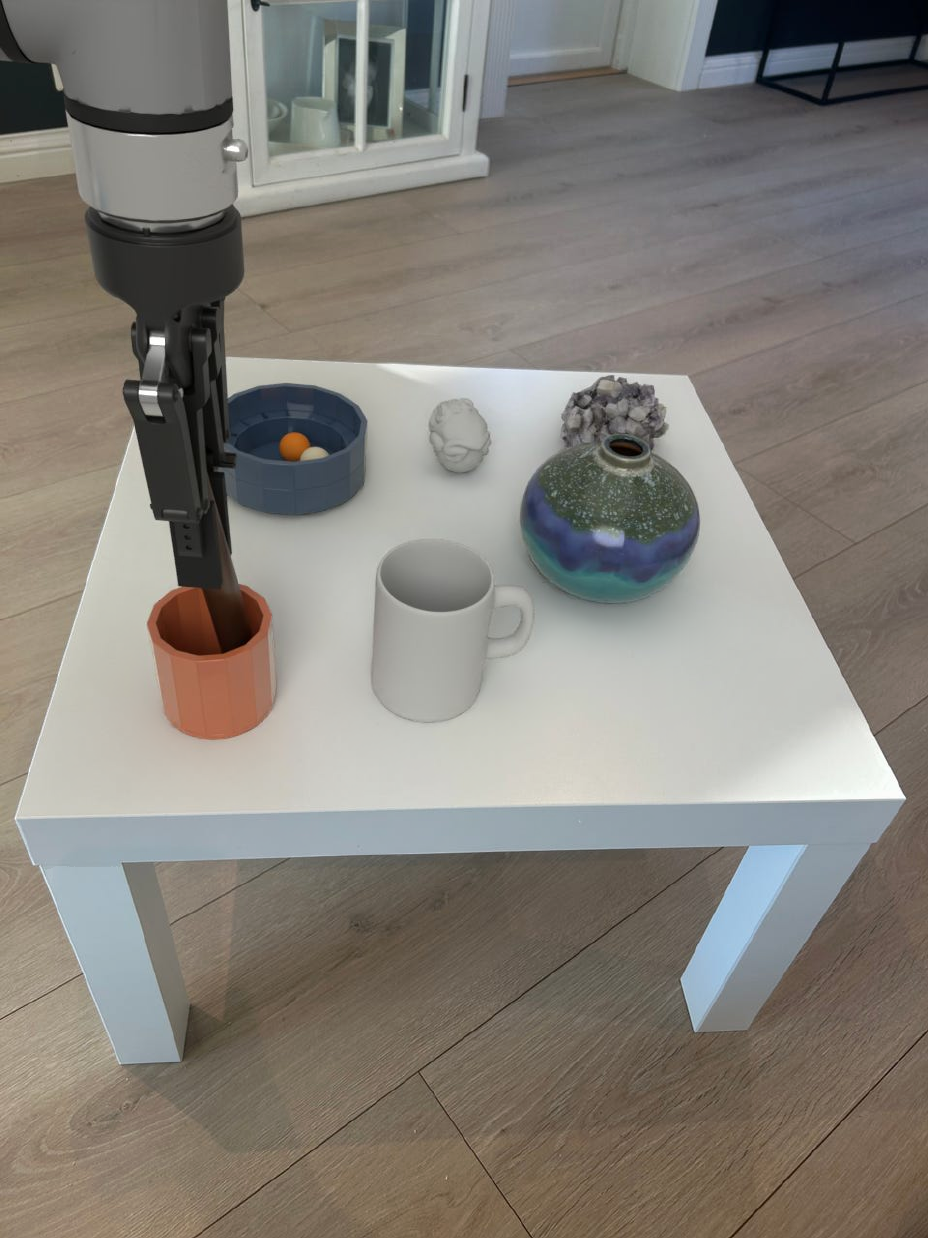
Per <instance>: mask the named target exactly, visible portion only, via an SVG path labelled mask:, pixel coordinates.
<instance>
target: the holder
mask: <svg viewBox="0 0 928 1238" xmlns="http://www.w3.org/2000/svg"><path fill="white" fill-rule="evenodd" d="M238 584H239V587H240V591H241V594H242V598H243V601H244V605H245V609H246V612H247V616H248V619H249V623H250V626H251V630H252V633H253V638H252V639H251V640H250V641H249V642H248V643H247V644H246V645H244V646H241V647H239V648H236V649H234V650H231V651H229V652H226V653H224V654H222V652H221V648H220V645H219V642H218V639H217V636H216V633H215V629H214V626H213V623H212V620H211V617H210V614H209V611H208V607H207V604H206V601H205V598H204V595H203V592H202V588H193V587H180V586H178V587H177V588H174V589H172V590H170V591H169V592H168V593H166V594H165V595H164V596H162V598H160V599H159V600H158V601H157V602H156V603H155V604H154V605H153V607H152V608H151V612H150V614H149V615H148V616H149V617H148V619H147V621H146V628H147V633H148V639H149V645H150V650H151V655H152V662H153V668H154V673H155V679H156V684H157V689H158V696H159V700H160V703H161V708H162V711H163V714H164V716H165V719H167V721H168V722H169V723H170V725H171V726H173V727H174V728H175V729H176V730H178V731H179V732H180V733H183V734H185V735H187V736H189V737H194V738H197V739H202V740H203V739H204V740H225V739H229V738H233V737H237V736H240V735H243V734H246V733H248V732H249V731H251V730H253V729H254V728H256V727H258V726H259V725H260V724H261V723H262V722H263V721H264V720H265V719H266V718H267V717H268V716H269V714H270V713H271V711H272V708H273V707H274V703H275V700H276V690H277V680H276V679H277V678H276V665H275V663H276V662H275V661H276V660H275V644H274V629H273V628H274V627H273V625H274V624H273V614H272V612H271V609H270V607H269V604H268V603H267V601H266V599H265V597H264V596H263V595H261V594H260V593H258V592H256V591H255V590H254V589H252V588H251V587H249V586H247V584H241V583H238Z"/></svg>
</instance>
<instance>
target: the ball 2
mask: <svg viewBox="0 0 928 1238" xmlns="http://www.w3.org/2000/svg"><path fill="white" fill-rule="evenodd" d="M326 456H329V454H328V453H327V452H326V451H325V450H324V449H322V448H319V447H311V448H308V449H307V450H305V451H304V452H303V453H302V455H301V457H300V461H304V460H312V459H319V458H324V457H326Z"/></svg>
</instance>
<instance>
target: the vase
mask: <svg viewBox="0 0 928 1238" xmlns="http://www.w3.org/2000/svg"><path fill="white" fill-rule="evenodd" d="M693 490H694V489H693V488H692V487H691V485H690V483H689V482H688V480H687V479H686V478H685V477H684V476H683V474H682V473H681V472H680V471H679V470H678V468H676V467H675V466H673V465H672V464H671V463H670V462H669V461H668V460H666V459H665V458H663V457H662V456H659V454H656V453H655V452H652V450H651V451H650V447H649V446H648V444H647V443H646V442H644V441H643V440H642V439H640V438H638V437H635V436H632V435H628V434H613V435H610V436H608V437H606V438H605V439H604V440H603V441H596V442H589V443H583V444H579V445H575V446H572V447H569V448H568V447H567V448H564V449H562V450H560V451H558V452H556V453H554V454H552V455H551V456H550V457H548V458H547V459H546V460H545V461H544V462H543V463H542V464H540V465H539V467H537V469H536V470H535V471H534V473H533V474H532V476H530V479H529V480H528V481H527V484H526V485H525V489H524V490H523V494H522V496H521V497H522V498H521V501H520V509H519V526H520V531H521V536H522V541H523V544H524V546H525V549H526V551H527V554H528V557H529V558H530V560H531V561H532V562H533V564H534V565H535V567H536V568H537V570H538V571H539V573H540V574H542V576H543V577H545V579H547V580H548V581H549V582H550V583H552V584H553V585H554V586H556V587H557V588H559V589H560V590H562V591H563V592H565V593H568V594H569V595H571V596H574V597H577V598H580V599H583V600H586V601H591V602H597V603H602V604H603V603H604V604H623V603H624V604H625V603H629V602H630V603H631V602H634V601H635V602H636V601H638V600H641V599H642V600H643V599H644V598H647V597H649V596H652V595H654V594H655V593H657V592H659V591H660V590H662V589H664V588H666V586H668V585H669V584H670V583H672V581H674V580H675V579H676V578H677V577H678V576H679V575H680V574H681V572H683V570H684V569H685V567H686V566H687V564H688V563H689V561H690V560H691V557H692V555H693V554H694V551H695V549H696V546H697V544H698V541H699V540H698V539H699V536H700V529H701V516H700V515H701V514H700V508H699V503H698V500H697V498H696V495H695V492H694V491H693Z"/></svg>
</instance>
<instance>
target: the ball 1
mask: <svg viewBox="0 0 928 1238" xmlns="http://www.w3.org/2000/svg"><path fill="white" fill-rule="evenodd" d="M308 448H311V447H310V443H309V441H308V439H307V438H306V437H305V436H304V435H302V434H300V433H296V432H293V433H289V434H287V435H285V436H284V437H283V438H282V440H281V442H280V445H279V450H280V454H281V456H282V457H283V458H284V459H285V460H286V461H290V462H297V461H300V457H301V455H302V453H303V452H304V451H305V450H307V449H308Z"/></svg>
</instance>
